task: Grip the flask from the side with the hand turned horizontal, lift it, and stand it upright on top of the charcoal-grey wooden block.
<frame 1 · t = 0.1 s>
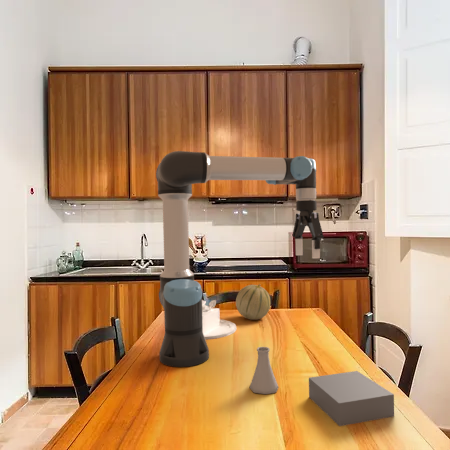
hand: (307, 256, 140), 28 cm above the table, tool pointing down, fingers open, 13 cm apart
cantaloupe: (253, 319, 159), on the table
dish: (204, 330, 145), on the table
riser block: (349, 407, 83), on the table
flask: (264, 389, 93), on the table
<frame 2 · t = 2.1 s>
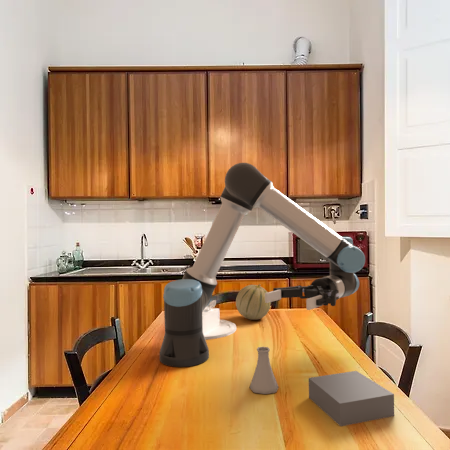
hand: (285, 301, 100), 20 cm above the table, tool horizontal, fingers open, 13 cm apart
nothing on the table moved.
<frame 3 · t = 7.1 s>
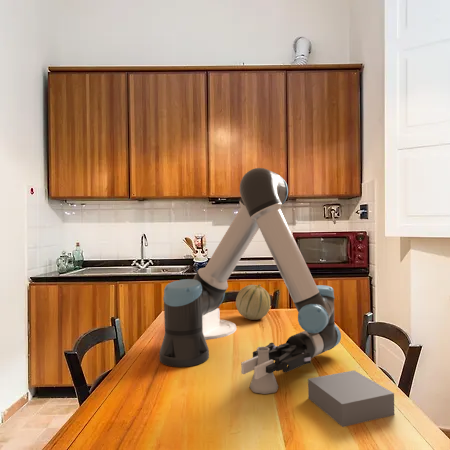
hand: (249, 370, 89), 6 cm above the table, tool horizontal, fingers closed on flask, 3 cm apart
flask: (264, 389, 93), on the table, touching gripper
everything else where it was.
when the fingers open (12 cm above the table, at t = 11.5 s): flask drops 2 cm, resting on riser block.
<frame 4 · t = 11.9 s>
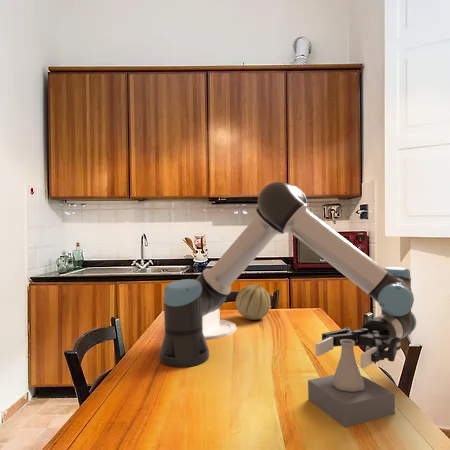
hand: (338, 355, 80), 12 cm above the table, tool horizontal, fingers open, 10 cm apart
riser block: (349, 408, 83), on the table, touching flask
flask: (348, 386, 83), point 4 cm above the table, touching riser block
everything else where it was.
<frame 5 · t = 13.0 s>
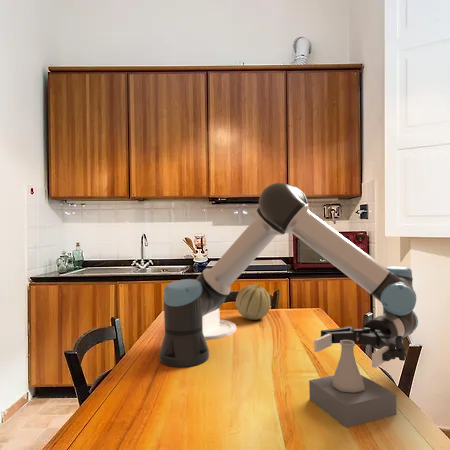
hand: (342, 353, 81), 13 cm above the table, tool horizontal, fingers open, 13 cm apart
nothing on the table moved.
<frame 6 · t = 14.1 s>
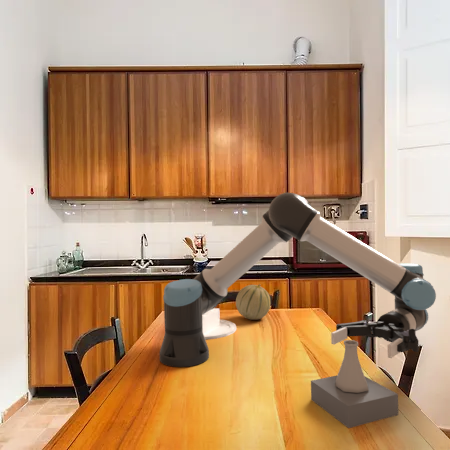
hand: (359, 344, 86), 13 cm above the table, tool horizontal, fingers open, 13 cm apart
nothing on the table moved.
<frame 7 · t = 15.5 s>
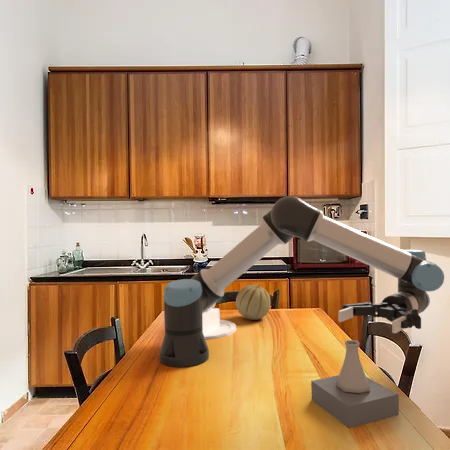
hand: (365, 321, 91), 17 cm above the table, tool horizontal, fingers open, 13 cm apart
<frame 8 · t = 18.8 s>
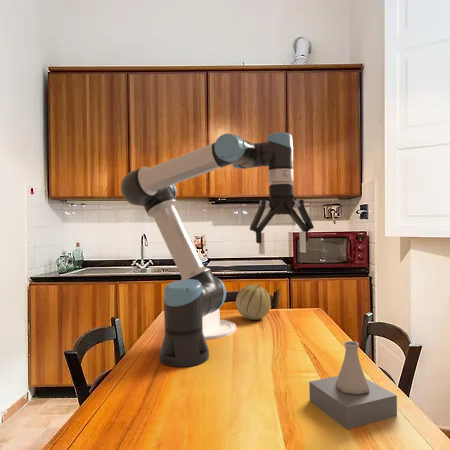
hand: (282, 253, 115), 32 cm above the table, tool pointing down, fingers open, 13 cm apart
at the end: flask inside the target area on the riser block (0.3 cm from its centre), point 4.8 cm above the riser block's base; flask tilted 0°; the gripper is holding nothing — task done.
